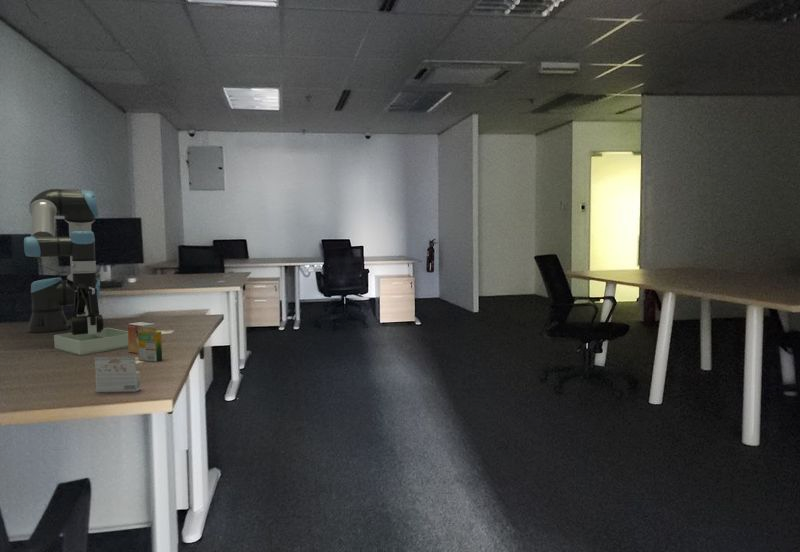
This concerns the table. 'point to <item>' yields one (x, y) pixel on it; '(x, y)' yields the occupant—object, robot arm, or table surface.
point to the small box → (136, 334)
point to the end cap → (84, 324)
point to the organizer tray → (92, 341)
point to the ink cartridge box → (116, 374)
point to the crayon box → (149, 344)
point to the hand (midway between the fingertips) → (87, 332)
